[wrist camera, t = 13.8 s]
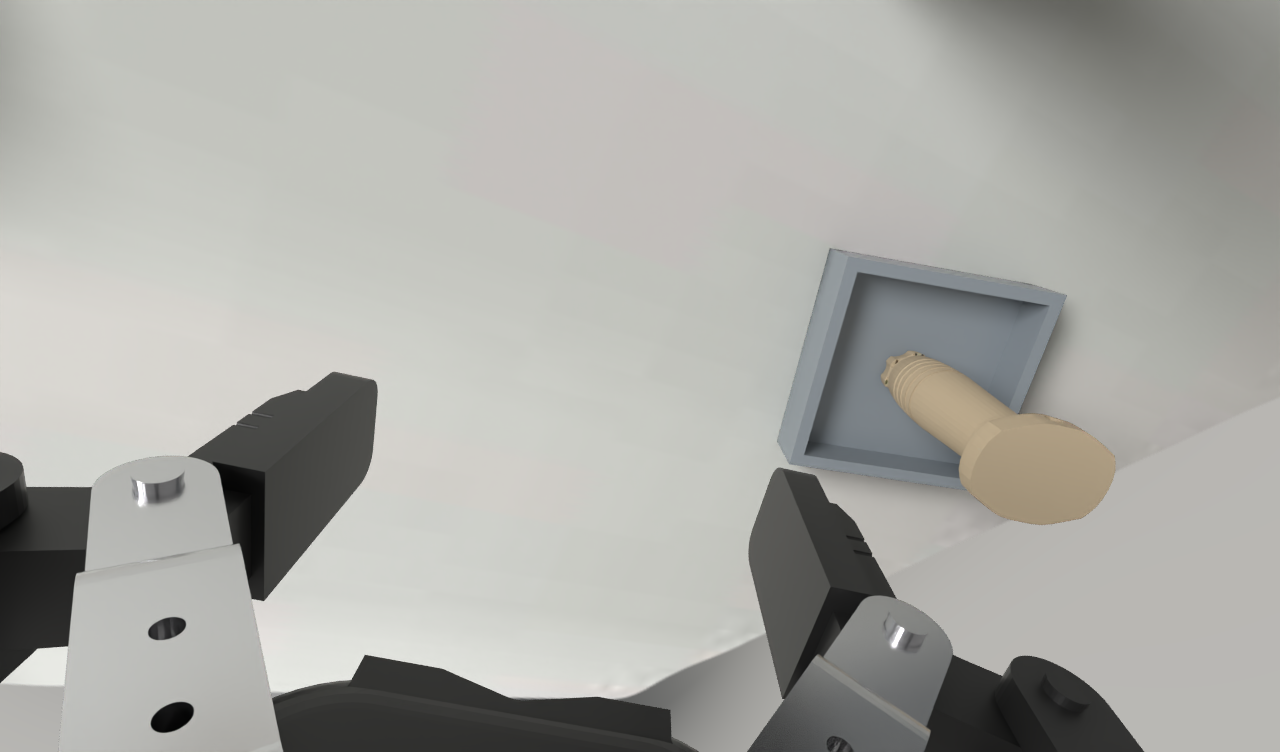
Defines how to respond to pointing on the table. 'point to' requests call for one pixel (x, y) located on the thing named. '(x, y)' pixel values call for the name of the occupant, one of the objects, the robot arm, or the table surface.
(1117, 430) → the table surface
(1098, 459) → the beige club-shaped piece
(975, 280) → the tray
